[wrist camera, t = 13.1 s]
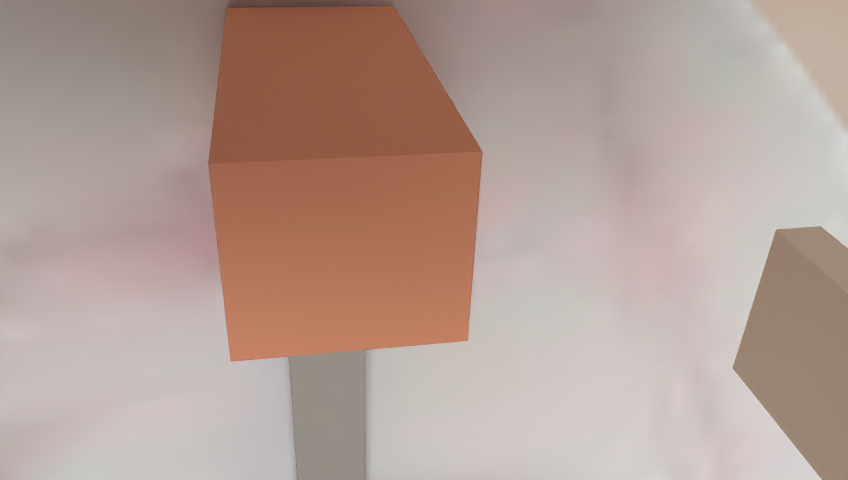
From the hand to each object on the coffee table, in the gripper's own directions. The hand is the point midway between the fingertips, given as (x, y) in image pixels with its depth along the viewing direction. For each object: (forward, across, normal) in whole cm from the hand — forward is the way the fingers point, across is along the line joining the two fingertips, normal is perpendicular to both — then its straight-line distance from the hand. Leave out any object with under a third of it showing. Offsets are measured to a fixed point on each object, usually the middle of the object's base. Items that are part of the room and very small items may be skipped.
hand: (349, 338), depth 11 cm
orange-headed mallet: (+12, 0, -10) cm, 16 cm away
